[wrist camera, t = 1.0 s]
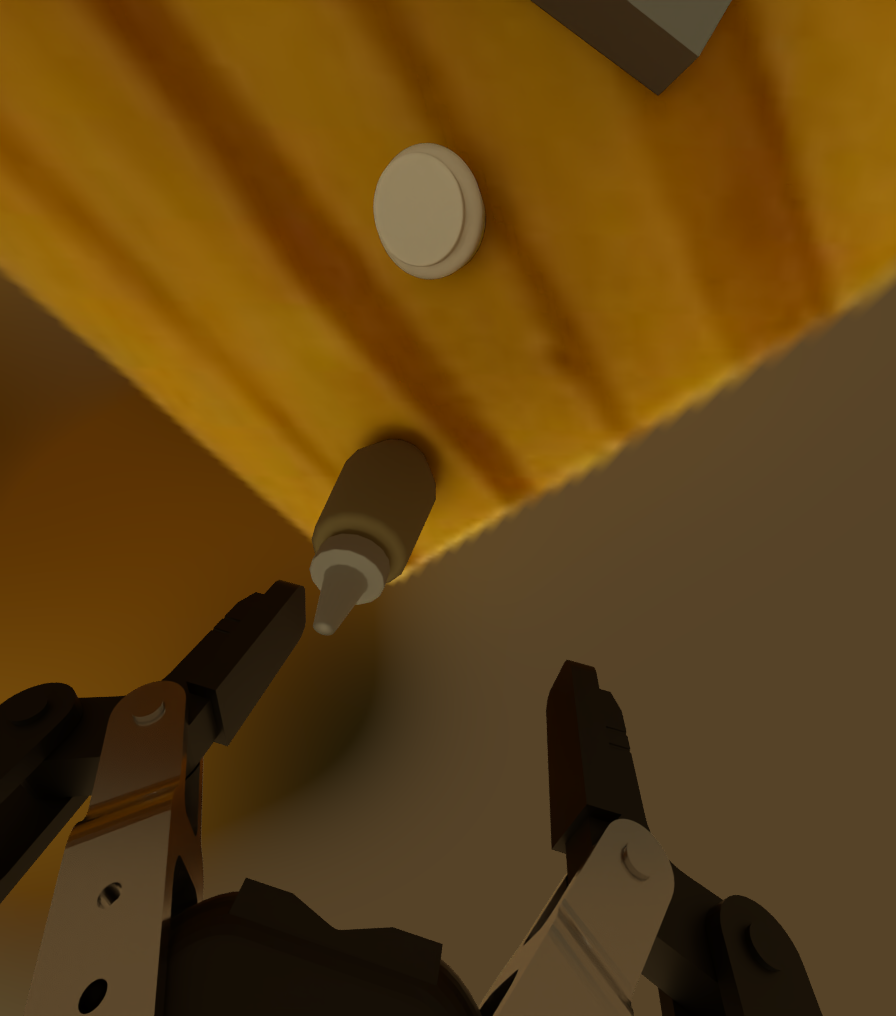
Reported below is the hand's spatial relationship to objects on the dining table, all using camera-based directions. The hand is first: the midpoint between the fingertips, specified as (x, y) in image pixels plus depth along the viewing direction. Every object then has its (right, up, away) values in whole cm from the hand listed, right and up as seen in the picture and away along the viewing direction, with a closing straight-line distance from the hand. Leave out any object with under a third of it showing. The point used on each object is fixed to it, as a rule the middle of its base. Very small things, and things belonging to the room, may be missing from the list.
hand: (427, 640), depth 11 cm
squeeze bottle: (-4, +8, +24) cm, 25 cm away
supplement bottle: (0, +22, +13) cm, 26 cm away
